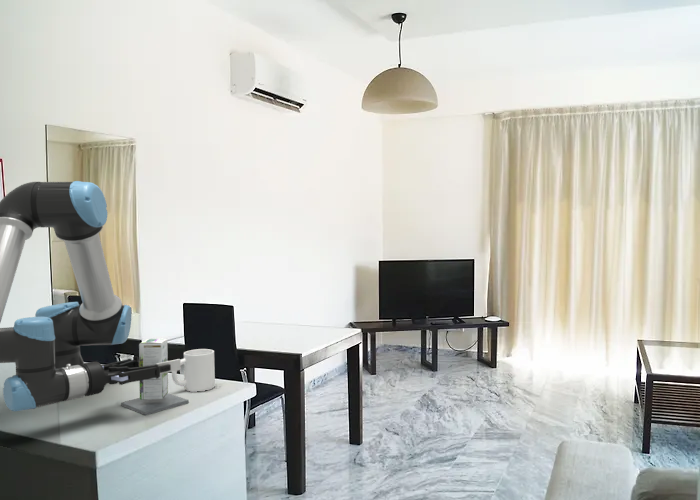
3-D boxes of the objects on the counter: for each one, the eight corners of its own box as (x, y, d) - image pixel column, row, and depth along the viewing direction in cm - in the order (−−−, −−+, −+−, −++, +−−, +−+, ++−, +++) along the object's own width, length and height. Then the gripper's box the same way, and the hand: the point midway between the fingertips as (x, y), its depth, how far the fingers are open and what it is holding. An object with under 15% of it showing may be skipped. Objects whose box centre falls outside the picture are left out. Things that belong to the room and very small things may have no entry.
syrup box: (145, 394, 145) (144, 338, 145) (169, 393, 146) (167, 337, 145) (139, 400, 140) (137, 342, 139) (163, 399, 140) (162, 342, 140)
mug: (177, 396, 149) (176, 358, 149) (167, 390, 156) (166, 353, 155) (219, 388, 156) (218, 352, 156) (208, 382, 163) (207, 347, 163)
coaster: (120, 405, 142) (120, 402, 142) (163, 394, 151) (163, 391, 151) (145, 415, 134) (144, 411, 134) (188, 403, 143) (188, 399, 143)
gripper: (102, 370, 122) (192, 352, 139) (63, 358, 136) (150, 343, 153) (103, 404, 122) (193, 382, 140) (64, 388, 136) (150, 370, 153)
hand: (170, 362), depth 146 cm, fingers closed on syrup box, 8 cm apart
